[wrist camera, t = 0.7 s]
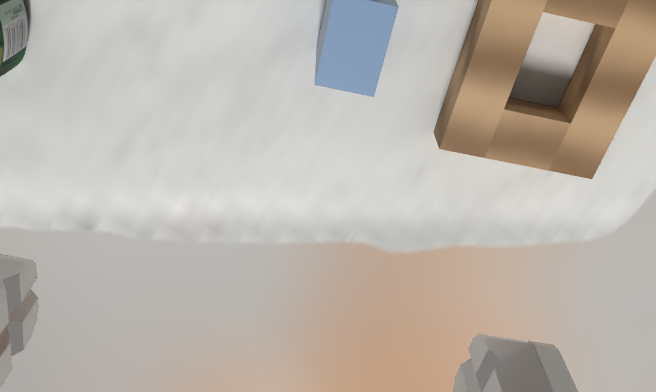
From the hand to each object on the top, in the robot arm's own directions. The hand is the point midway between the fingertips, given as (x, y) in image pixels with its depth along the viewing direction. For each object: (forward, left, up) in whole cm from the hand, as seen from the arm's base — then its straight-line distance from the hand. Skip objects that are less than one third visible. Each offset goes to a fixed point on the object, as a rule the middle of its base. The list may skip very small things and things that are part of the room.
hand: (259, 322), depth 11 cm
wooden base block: (+3, +19, -37) cm, 42 cm away
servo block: (+3, +4, -37) cm, 37 cm away
